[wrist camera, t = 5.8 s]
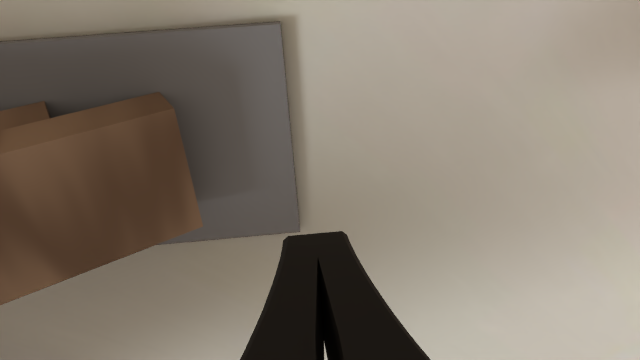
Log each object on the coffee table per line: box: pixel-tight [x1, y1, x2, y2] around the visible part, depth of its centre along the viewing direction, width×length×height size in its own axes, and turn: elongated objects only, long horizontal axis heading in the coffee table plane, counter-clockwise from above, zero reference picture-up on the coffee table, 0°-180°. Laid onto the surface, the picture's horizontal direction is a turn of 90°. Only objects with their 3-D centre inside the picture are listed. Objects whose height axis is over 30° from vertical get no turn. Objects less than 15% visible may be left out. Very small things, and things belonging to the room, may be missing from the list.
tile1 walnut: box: [0, 92, 203, 305], centre depth 13 cm, size 4×2×9 cm
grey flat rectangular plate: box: [0, 22, 300, 245], centre depth 15 cm, size 8×19×1 cm, turn 93°
